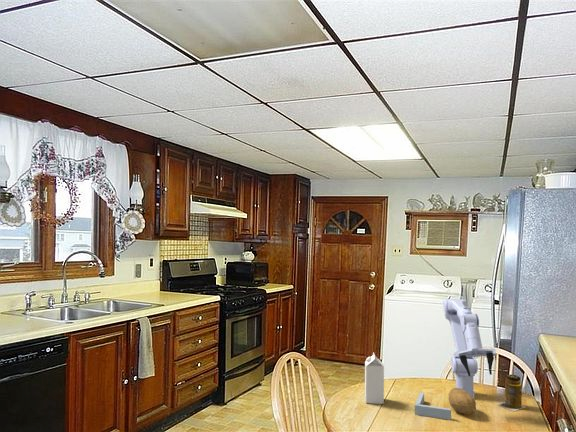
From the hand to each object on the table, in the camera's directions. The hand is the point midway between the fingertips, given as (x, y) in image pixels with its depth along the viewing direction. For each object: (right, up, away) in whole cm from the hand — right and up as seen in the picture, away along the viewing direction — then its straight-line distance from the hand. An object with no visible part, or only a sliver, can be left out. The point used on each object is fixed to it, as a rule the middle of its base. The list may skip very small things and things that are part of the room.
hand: (479, 374), depth 178 cm
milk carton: (-38, -16, +14) cm, 43 cm away
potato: (-6, -16, +3) cm, 17 cm away
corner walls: (-16, -16, +4) cm, 23 cm away
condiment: (+17, -16, +10) cm, 25 cm away
